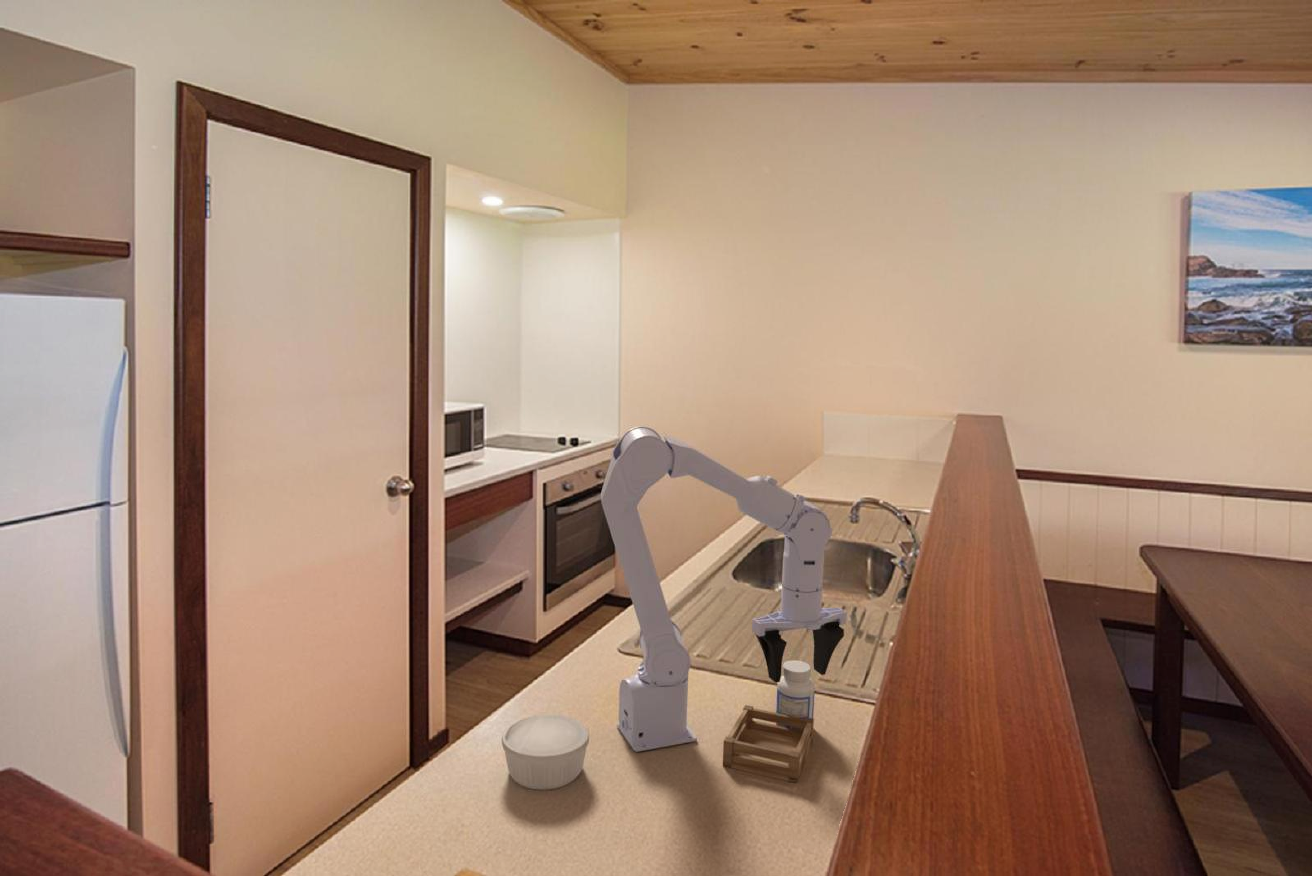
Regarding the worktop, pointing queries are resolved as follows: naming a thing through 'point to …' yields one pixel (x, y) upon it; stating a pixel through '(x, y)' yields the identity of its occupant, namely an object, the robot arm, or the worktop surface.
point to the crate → (768, 744)
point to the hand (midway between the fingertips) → (797, 675)
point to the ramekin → (545, 750)
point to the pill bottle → (795, 692)
